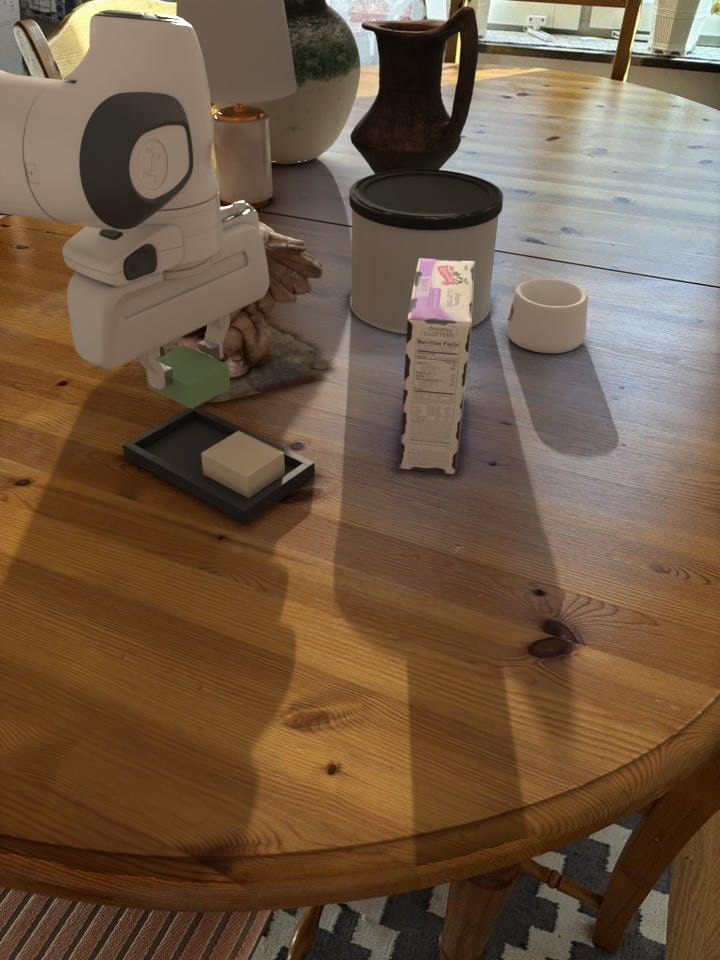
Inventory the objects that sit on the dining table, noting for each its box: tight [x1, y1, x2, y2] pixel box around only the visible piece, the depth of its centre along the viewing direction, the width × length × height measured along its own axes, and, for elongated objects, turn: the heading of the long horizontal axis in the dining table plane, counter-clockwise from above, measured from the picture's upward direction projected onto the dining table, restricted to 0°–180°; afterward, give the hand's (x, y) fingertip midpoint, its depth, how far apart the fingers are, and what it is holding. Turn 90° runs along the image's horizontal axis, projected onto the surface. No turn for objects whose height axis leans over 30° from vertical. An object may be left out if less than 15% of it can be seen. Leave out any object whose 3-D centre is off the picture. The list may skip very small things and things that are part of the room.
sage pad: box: [144, 346, 230, 409], centre depth 80 cm, size 5×6×2 cm
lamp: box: [175, 0, 297, 210], centre depth 136 cm, size 19×19×34 cm
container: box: [348, 169, 504, 335], centre depth 110 cm, size 19×19×15 cm
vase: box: [213, 0, 361, 165], centre depth 158 cm, size 28×28×30 cm
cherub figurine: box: [161, 205, 329, 407], centre depth 96 cm, size 18×18×18 cm
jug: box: [350, 5, 479, 174], centre depth 140 cm, size 21×18×30 cm
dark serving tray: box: [122, 405, 316, 525], centre depth 84 cm, size 10×17×2 cm, turn 52°
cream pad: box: [201, 431, 285, 498], centre depth 81 cm, size 5×6×2 cm
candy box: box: [398, 258, 475, 475], centre depth 84 cm, size 14×6×16 cm, turn 172°
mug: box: [505, 278, 589, 354], centre depth 106 cm, size 12×10×6 cm
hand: (187, 372), depth 80 cm, fingers closed on sage pad, 5 cm apart
